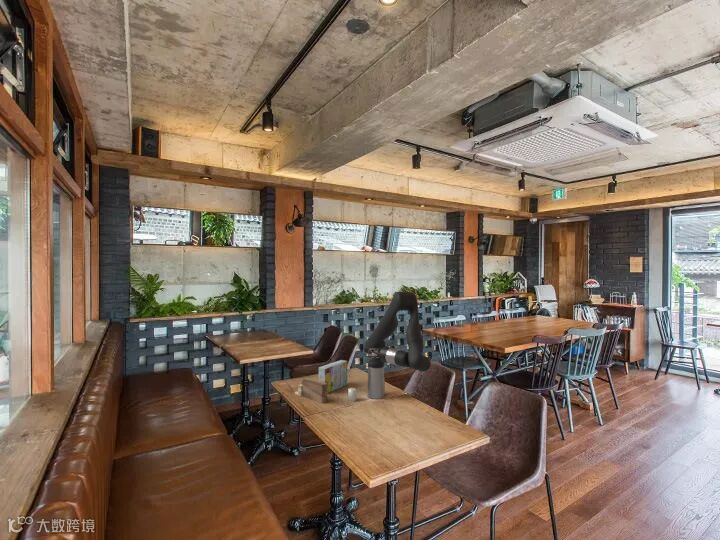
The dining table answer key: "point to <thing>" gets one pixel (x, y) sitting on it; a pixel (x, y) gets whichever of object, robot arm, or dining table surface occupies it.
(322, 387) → the brown rectangular block
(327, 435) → the dining table surface
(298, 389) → the bench stop
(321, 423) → the dining table surface
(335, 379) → the snack box
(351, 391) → the white rounded piece
